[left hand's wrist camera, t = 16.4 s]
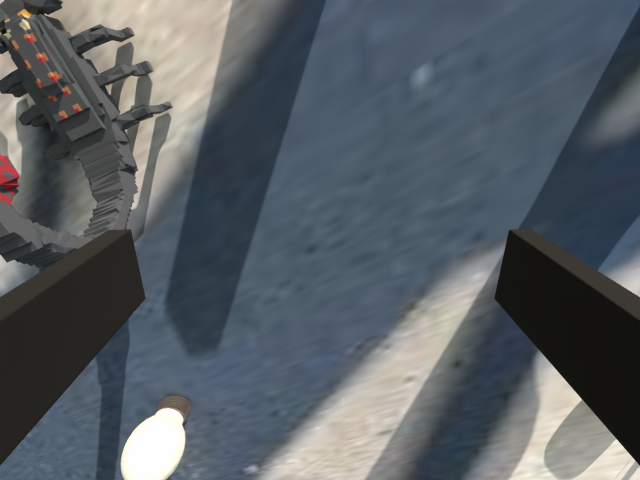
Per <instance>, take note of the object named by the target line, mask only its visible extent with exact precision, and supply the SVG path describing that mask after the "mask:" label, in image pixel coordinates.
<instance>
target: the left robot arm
mask: <svg viewBox="0 0 640 480" xmlns="http://www.w3.org/2000/svg"><path fill="white" fill-rule="evenodd" d="M144 300H145V294H144V289H143V285H142V280H141V275H140V271H139V266H138V261H137V257H136V252H135V247H134V242H133V238H132V233H131V230H107V231H106V232H104V233H103V234H101V235H99V236H98V237H96V238H95V239H93V240H91V241H90V242H88V243H87V244H85V245H83V246H82V247H80V248H79V249H77V250H75V251H74V252H72V253H70V254H69V255H67V256H66V257H64V258H62V259H61V260H59V261H58V262H56V263H54V264H53V265H51V266H50V267H48V268H46V269H45V270H43V271H42V272H40V273H38V274H37V275H35V276H34V277H32V278H30V279H29V280H27V281H26V282H24V283H22V284H21V285H19V286H18V287H16V288H14V289H13V290H11V291H10V292H8V293H6V294H5V295H3V296H2V297H0V465H1V464H2V463H3V462H4V461H5V459H6V458H7V457H8V456H9V455H10V454H11V452H12V451H13V450H14V449H15V448H16V447H17V446H18V444H19V443H20V442H21V441H22V440H23V439H24V438H25V436H26V435H27V434H28V433H29V432H30V431H31V429H32V428H33V427H34V426H35V425H36V424H37V423H38V421H39V420H40V419H41V418H42V417H43V416H44V415H45V413H46V412H47V411H48V410H49V409H50V408H51V406H52V405H53V404H54V403H55V402H56V401H57V400H58V398H59V397H60V396H61V395H62V394H63V393H64V392H65V390H66V389H67V388H68V387H69V386H70V385H71V384H72V382H73V381H74V380H75V379H76V378H77V377H78V375H79V374H80V373H81V372H82V371H83V370H84V369H85V367H86V366H87V365H88V364H89V363H90V362H91V361H92V359H93V358H94V357H95V356H96V355H97V354H98V352H99V351H100V350H101V349H102V348H103V347H104V346H105V344H106V343H107V342H108V341H109V340H110V339H111V338H112V336H113V335H114V334H115V333H116V332H117V331H118V330H119V328H120V327H121V326H122V325H123V324H124V323H125V321H126V320H127V319H128V318H129V317H130V316H131V315H132V313H133V312H134V311H135V310H136V309H137V308H138V307H139V305H140V304H141V303H142V302H143V301H144ZM495 300H496V301H497V302H498V303H499V304H500V305H501V307H502V308H503V309H504V310H505V311H506V312H507V313H508V315H509V316H510V317H511V318H512V319H513V320H514V321H515V323H516V324H517V325H518V326H519V327H520V328H521V330H522V331H523V332H524V333H525V334H526V335H527V336H528V338H529V339H530V340H531V341H532V342H533V343H534V344H535V346H536V347H537V348H538V349H539V350H540V351H541V352H542V354H543V355H544V356H545V357H546V358H547V359H548V361H549V362H550V363H551V364H552V365H553V366H554V367H555V369H556V370H557V371H558V372H559V373H560V374H561V375H562V377H563V378H564V379H565V380H566V381H567V382H568V384H569V385H570V386H571V387H572V388H573V389H574V390H575V392H576V393H577V394H578V395H579V396H580V397H581V398H582V400H583V401H584V402H585V403H586V404H587V405H588V406H589V408H590V409H591V410H592V411H593V412H594V413H595V415H596V416H597V417H598V418H599V419H600V420H601V421H602V423H603V424H604V425H605V426H606V427H607V428H608V429H609V431H610V432H611V433H612V434H613V435H614V436H615V438H616V439H617V440H618V441H619V442H620V443H621V444H622V446H623V447H624V448H625V449H626V450H627V451H628V452H629V454H630V455H631V456H632V457H633V458H634V459H635V461H636V462H637V463H638V464H639V465H640V297H638V296H637V295H635V294H634V293H632V292H630V291H629V290H627V289H626V288H624V287H622V286H621V285H619V284H618V283H616V282H614V281H613V280H611V279H610V278H608V277H606V276H605V275H603V274H602V273H600V272H598V271H597V270H595V269H594V268H592V267H590V266H589V265H587V264H586V263H584V262H582V261H581V260H579V259H578V258H576V257H574V256H573V255H571V254H570V253H568V252H566V251H565V250H563V249H561V248H560V247H558V246H557V245H555V244H553V243H552V242H550V241H549V240H547V239H545V238H544V237H542V236H541V235H539V234H537V233H536V232H534V231H533V230H509V233H508V238H507V242H506V247H505V252H504V256H503V261H502V266H501V271H500V275H499V280H498V285H497V289H496V294H495Z"/></svg>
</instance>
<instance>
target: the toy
mask: <svg viewBox="0 0 640 480" xmlns="http://www.w3.org/2000/svg"><path fill="white" fill-rule="evenodd" d="M62 3H63V2H62V1H61V0H5V1H4V2H2V3H1V4H0V54H3V53H5V52H6V51H8V50H9V53H10V55H11V56H12V57H11V58H12V60H13V61H14V63H15V64H16V66H17V67H18V69H17V70H15V71H13V72H11V73H10V74H9V75H7V76H6V77H4V78H3V79H2V80H0V92H1V93H2V94H13V95H14V96H15V97H21V96H23V95H24V94H26V93H29V94H30V96H31V97H32V99H33V100H34V102H35V103H36V104H37V105H34V106H32V108H31V109H29V110H27V111H26V112H24V113H22V114H21V116H20V117H19V120H20V122H21V123H22V125H32V126H33V127H38V126H41V125H43V124H45V123H47V122H49V123H50V125H51V126H52V127H53V128H54V129H55V131H56V132H57V134H58V135H59V137H60V138H61V139H62V141H61V142H59V143H57V144H55V145H53V146H51V147H49V148H47V149H45V150H43V151H42V153H43V154H44V156H45V157H46V159H47V160H49V159H52V158H55V160H59V159H62V158H64V157H66V156H68V155H69V153H68V151H71V153H72V154H73V156H74V158H75V160H79V161H81V162H82V165H83V169H84V171H85V173H86V174H85V175H86V177H87V178H88V180H89V185H90V188H91V190H92V193H93V194H92V196H93V197H94V198H95V200H96V201H97V206H96V208H94V209H92V210H93V212H94V213H92V214H93V215H94V216H93V217H92V218H90V221H91V223H89V224H88V225H89V228H88V229H86V230H84V235H82V236H80V237H76V235H73V236H72V235H71V234H69V233H68V232H66V231H65V230H63V231H61V232H59V233H58V232H57V231H56V230H51V229H50V227H48V228H46V227H44V226H41V225H39V224H38V223H37V222H35V223H32V222H31V220H30V219H26V218H22V217H21V215H20V214H19V213H18V212H17V211H16V210H15V209H14V207H13V206H12V205H11V202H12V198H13V196H14V195H15V194H16V193H17V192H19V191H18V190H17V189H16V187H18V185H19V184H18V183H17V180H18V178H19V177H20V176H19V174H18V172H17V171H16V169H15V168H14V166H13V165H12V163H11V162H10V160H9V158H8V157H7V156H1V155H0V255H1V256H2V257H3V258H4V259H5V261H6V262H9V261H12V260H14V259H15V260H16V261H17V262H21V263H23V264H26V263H27V264H29V265H30V266H32V265H34V264H35V266H36V267H39V266H41V265H42V266H44V267H50V266H51V265H53V264H54V263H56V262H58V261H59V260H61V259H62V258H64V257H66V256H67V255H69V254H70V253H72V252H74V251H75V250H77V249H79V248H80V247H82V246H83V245H85V244H87V243H88V242H90V241H91V240H93V239H95V238H96V237H98V236H99V235H101V234H103V233H104V232H106V231H107V230H126V228H127V222H128V221H129V220H128V219H127V217H129V216H130V214H129V212H131V211H132V210H131V209H130V207H132V203H133V202H134V200H133V195H134V194H135V193H137V192H138V191H137V189H138V188H137V186H136V184H135V182H136V181H135V179H136V177H135V173H136V171H138V169H137V165H136V162H135V160H134V157H133V154H132V152H131V149H130V143H129V140H128V137H127V134H126V132H125V131H124V130H126V129H128V128H130V127H131V126H133V125H135V124H137V123H139V122H140V121H143V120H145V119H148V118H150V117H153V114H159V113H162V112H164V111H166V110H168V109H170V108H172V105H171V104H170V102H166V103H163V104H160V105H156V106H148V105H147V104H143V105H141V106H139V107H137V108H135V109H131V110H129V111H127V112H125V113H123V114H122V115H119V114H120V111H119V109H118V107H117V105H116V103H115V102H114V100H113V98H112V96H111V95H109V94H108V92H107V89H106V87H105V85H109V84H111V83H114V82H116V81H119V80H121V79H123V78H126V77H128V76H131V75H132V76H138V77H139V76H144V75H146V74H148V73H150V72H152V71H153V69H152V67H151V66H150V64H149V62H148V61H144V62H141V63H139V64H136V65H127V64H120V65H117V66H115V67H113V68H111V69H108V70H106V71H104V72H102V73H100V74H98V72H97V70H96V68H95V67H94V65H93V63H92V61H91V60H88V59H84V57H83V55H82V53H84V52H86V51H88V50H90V49H91V48H93V47H96V46H99V45H101V44H104V43H106V42H109V41H111V40H115V41H119V42H122V41H124V40H126V39H128V38H130V37H132V36H134V33H133V31H132V29H131V28H128V27H127V28H125V29H123V30H119V31H116V30H113V29H110V28H106V27H104V26H102V25H97V26H95V27H93V28H90V29H88V30H86V31H84V32H81V33H79V34H77V35H75V36H73V37H72V36H71V35H70V33H69V32H67V31H66V30H65V28H64V26H63V24H62V23H61V22H60V21H59V20H58V19H54V18H51V17H48V16H45V15H44V13H45V14H48V15H49V14H51V13H53V12H55V11H57V10H59V9H61V8H62V6H61V4H62Z"/></svg>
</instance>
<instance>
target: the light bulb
mask: <svg viewBox="0 0 640 480" xmlns="http://www.w3.org/2000/svg"><path fill="white" fill-rule="evenodd" d="M190 409H191V405H190V403H189V402H188V401H187V400H186V399H184V398H182V397H179V396H168V397H166V398H164V399H163V400H162V401H161V403H160V404H159V406H158V408H157V410H156V412H155V414H154V416H152V417H150V418H148V419H146V420H145V421H144V422H142V423H141V424H140V425H139V426H138V427H137V428H136V429H135V430H134V431H133V433H132V434H131V436H130V437H129V439H128V440H127V443H126V445H125V447H124V450H123V454H122V458H121V472H122V476H123V478H124V480H167V479H168V477H169V476H170V475H171V474H172V473H173V472H174V470H175V469H176V467H177V466H178V464H179V462H180V460H181V457H182V455H183V451H184V446H185V432H184V428H183V426H182V424H184V423H185V421H186V419H187V416H188V414H189V411H190Z"/></svg>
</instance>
